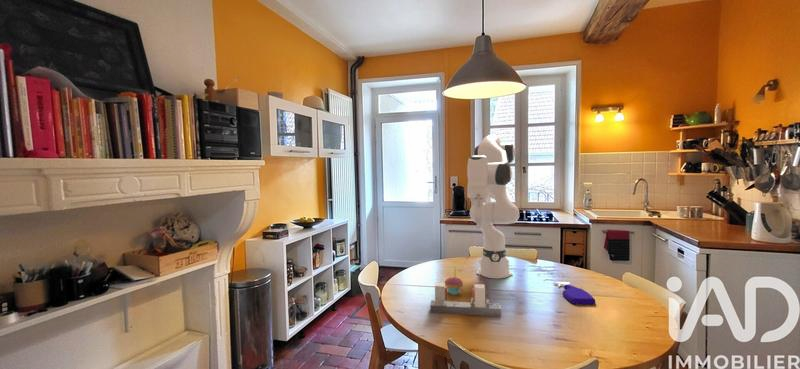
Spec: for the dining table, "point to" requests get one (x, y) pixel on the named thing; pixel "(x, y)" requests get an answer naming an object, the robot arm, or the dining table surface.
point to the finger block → (479, 295)
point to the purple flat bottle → (576, 294)
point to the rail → (460, 305)
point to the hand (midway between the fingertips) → (478, 225)
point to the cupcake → (453, 284)
